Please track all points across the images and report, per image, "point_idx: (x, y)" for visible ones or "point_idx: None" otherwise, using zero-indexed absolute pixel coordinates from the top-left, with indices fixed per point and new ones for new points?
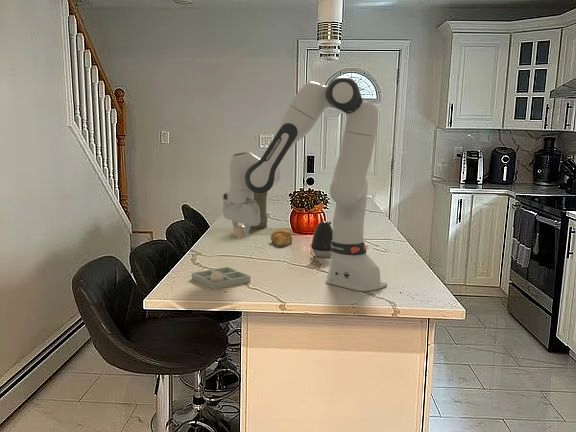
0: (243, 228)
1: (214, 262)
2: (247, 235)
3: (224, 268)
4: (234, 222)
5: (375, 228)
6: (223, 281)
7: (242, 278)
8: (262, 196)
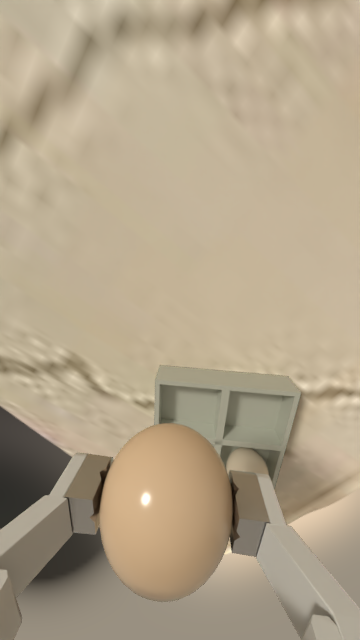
0: (216, 565)
1: (5, 314)
2: (264, 483)
3: (160, 392)
4: (11, 634)
5: None
6: (279, 469)
7: (292, 416)
8: None
